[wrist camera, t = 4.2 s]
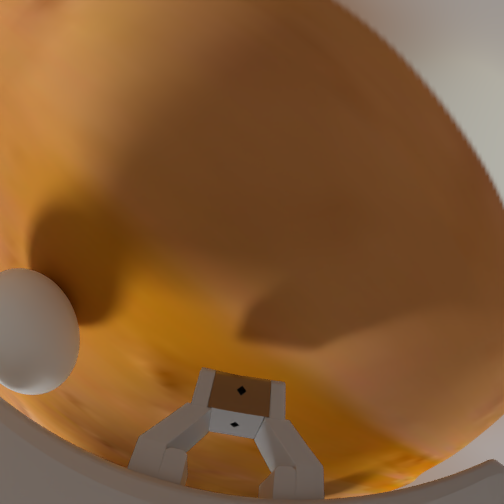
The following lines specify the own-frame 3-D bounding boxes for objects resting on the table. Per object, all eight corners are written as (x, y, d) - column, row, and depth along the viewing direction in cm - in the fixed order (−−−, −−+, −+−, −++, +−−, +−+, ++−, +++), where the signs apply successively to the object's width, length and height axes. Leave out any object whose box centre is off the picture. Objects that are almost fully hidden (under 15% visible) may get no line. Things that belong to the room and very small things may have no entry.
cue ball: (108, 353, 12) (61, 437, 7) (35, 322, 12) (-16, 384, 7) (91, 260, 10) (2, 351, 5) (12, 237, 10) (-64, 295, 5)
